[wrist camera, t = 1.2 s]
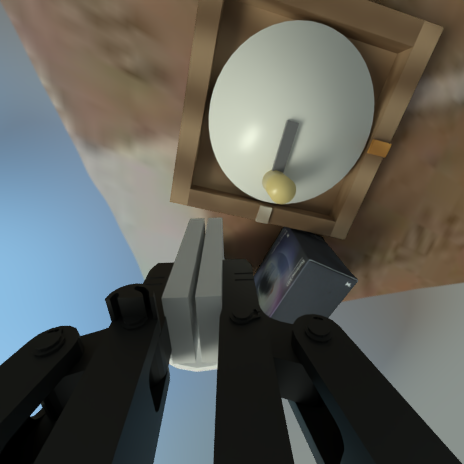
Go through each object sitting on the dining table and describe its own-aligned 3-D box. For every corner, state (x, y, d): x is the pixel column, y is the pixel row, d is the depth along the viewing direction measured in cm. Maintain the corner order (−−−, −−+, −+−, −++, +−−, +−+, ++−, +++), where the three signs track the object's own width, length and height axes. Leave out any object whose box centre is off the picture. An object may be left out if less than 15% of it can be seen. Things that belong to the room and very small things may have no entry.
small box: (284, 219, 33) (309, 257, 23) (323, 236, 34) (362, 279, 25) (249, 278, 37) (258, 332, 27) (286, 292, 38) (307, 348, 28)
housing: (209, -31, 22) (206, -61, 19) (416, 40, 25) (447, 25, 22) (175, 194, 31) (169, 202, 27) (332, 228, 34) (345, 241, 30)
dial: (229, 3, 22) (231, -41, 16) (392, 57, 24) (446, 35, 19) (197, 181, 29) (190, 196, 23) (327, 212, 31) (352, 232, 25)
